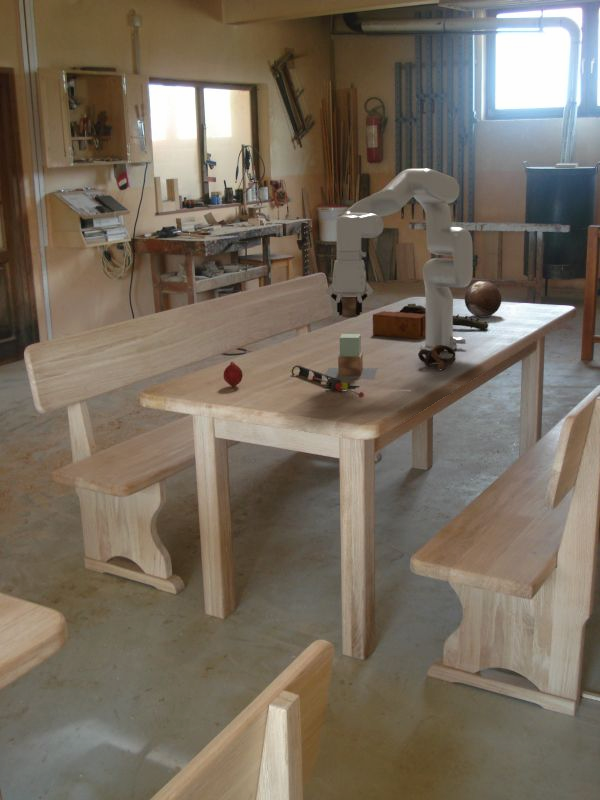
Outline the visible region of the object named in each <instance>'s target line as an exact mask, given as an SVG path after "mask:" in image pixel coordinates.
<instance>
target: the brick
mask: <svg viewBox="0 0 600 800" xmlns="http://www.w3.org/2000/svg"><path fill="white" fill-rule="evenodd" d="M372 335H373V336H379V335H380V336H379V337H381V336H382V337H388V336H389V337H390V338H391V337H392V338H401V339H412V340H420V339H422V338H425V314H414V313H402V312H400V311H385V310H383V311H382V310H381V311H380V312H377V313H373V314H372Z"/></svg>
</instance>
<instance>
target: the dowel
mask: <svg viewBox="0 0 600 800" xmlns="http://www.w3.org/2000/svg"><path fill="white" fill-rule="evenodd" d="M341 303H342V315H341V317H342V318H348V319H349V318H350V319H351V318H357V317H358V315H357V303H358V298H357V295H342V297H341Z"/></svg>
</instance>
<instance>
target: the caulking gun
mask: <svg viewBox="0 0 600 800" xmlns="http://www.w3.org/2000/svg"><path fill="white" fill-rule="evenodd" d="M295 368H298V369H299V372H298V375H303V376H305V377H309V375H310V372H312V374H313V376H312V381H318V382H323V383H325V384H326V388H327V389H328V390H330V391H332V390H333V391H332V392H335V391H338V390H339V391H338V392H342V391H343V390H347V391H348V392H351V393H354V394H356V395H358V397H359V398H363V397H364V395H365V394H364V392H363V391H361V392H356V391H354V390H352V389H356V387H357V388H360V385H352V384H350V382H348V383H347V382H341V379H340V378H333V377H330V376H327V375H325V374H324V373H321V372H319V371H316V370H312V369H310V368H306V367H304V366H302V365H298V364H297V365H295V366H293V367H292V369H291V374H292V376H295V374H294V369H295ZM324 376H325V377H326V378H325V379H326V380H324V379H323V377H324ZM328 377H329V378H328ZM350 388H352V389H350ZM347 391H346V392H347Z"/></svg>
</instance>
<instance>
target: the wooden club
mask: <svg viewBox="0 0 600 800" xmlns="http://www.w3.org/2000/svg"><path fill="white" fill-rule="evenodd" d="M399 312H402V313H414V314H425V306H422V305H419V304H418V305H416V303H407V305H405V306H403V307H402V308H401V310H399ZM473 316H474V315H473ZM473 316H470V317H468V315H465V316H460V314H459V313H458V314H457V315H453V326H458V327H459V326H461V327H468V328H470V330H471V329H472V328H474V329H478V330H481V331H486V330H487V329H488V328H489V323H488V322H487V321H482V320H480V317H477V318H474V317H473Z"/></svg>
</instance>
